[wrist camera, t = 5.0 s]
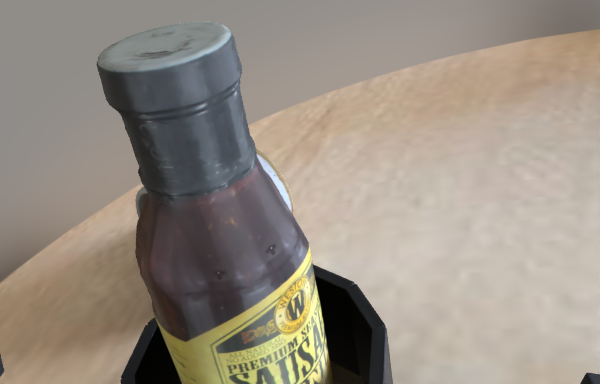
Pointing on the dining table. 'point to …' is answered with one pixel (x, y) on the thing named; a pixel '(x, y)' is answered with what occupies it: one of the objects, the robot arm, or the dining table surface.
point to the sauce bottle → (213, 215)
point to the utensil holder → (337, 325)
